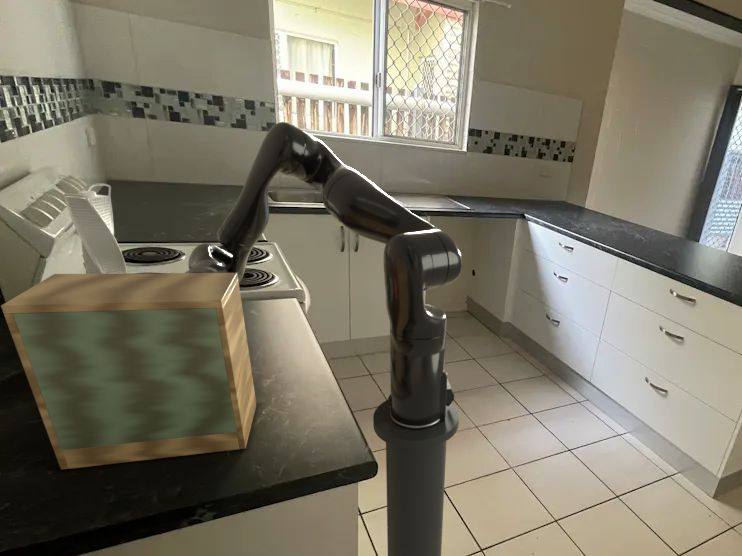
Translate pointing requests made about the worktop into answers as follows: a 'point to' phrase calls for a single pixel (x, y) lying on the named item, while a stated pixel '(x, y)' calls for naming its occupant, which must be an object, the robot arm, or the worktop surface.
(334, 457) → the worktop surface
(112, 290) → the shelf unit
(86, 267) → the box grater
